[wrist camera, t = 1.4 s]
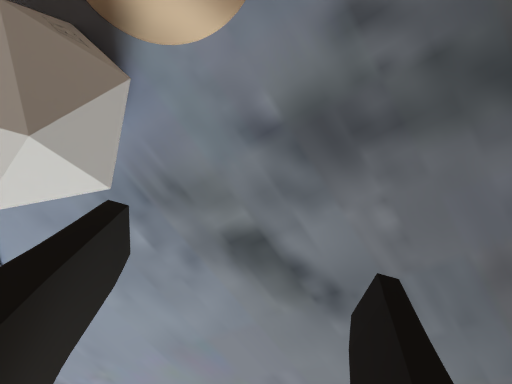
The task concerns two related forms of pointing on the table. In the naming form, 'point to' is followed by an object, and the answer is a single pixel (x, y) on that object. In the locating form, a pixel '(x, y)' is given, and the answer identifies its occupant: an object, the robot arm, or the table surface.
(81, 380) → the table surface
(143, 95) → the table surface
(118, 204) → the robot arm
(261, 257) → the table surface
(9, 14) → the die
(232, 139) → the table surface
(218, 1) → the coaster
